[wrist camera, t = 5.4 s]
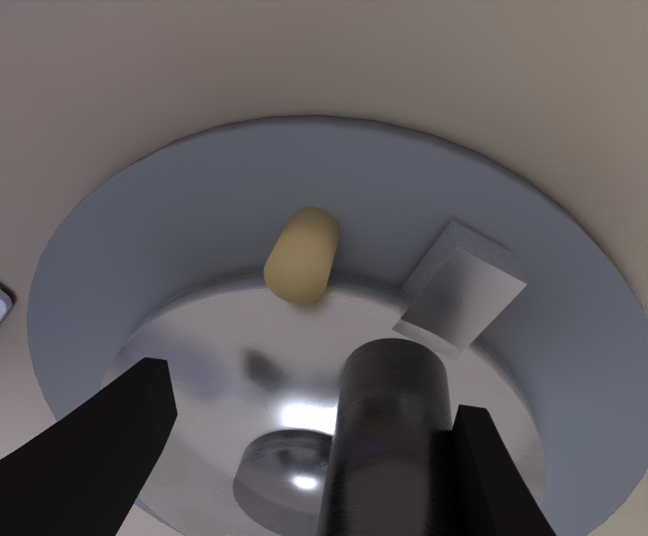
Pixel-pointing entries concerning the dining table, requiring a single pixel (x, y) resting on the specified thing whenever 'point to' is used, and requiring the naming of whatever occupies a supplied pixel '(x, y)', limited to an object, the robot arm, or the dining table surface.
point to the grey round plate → (361, 259)
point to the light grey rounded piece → (333, 398)
